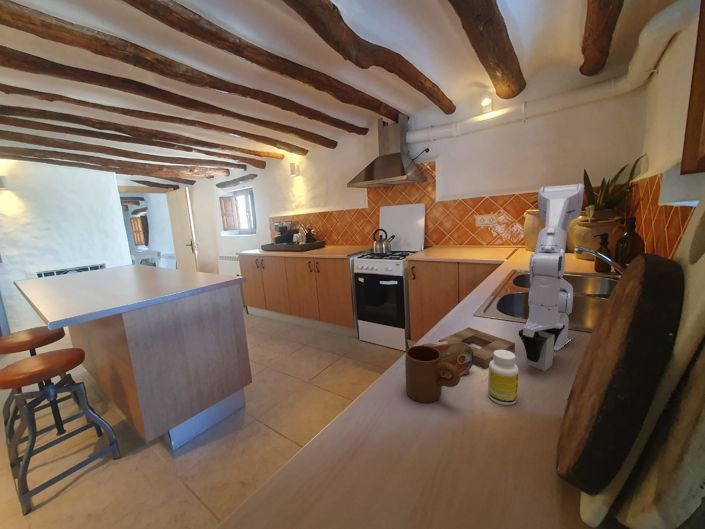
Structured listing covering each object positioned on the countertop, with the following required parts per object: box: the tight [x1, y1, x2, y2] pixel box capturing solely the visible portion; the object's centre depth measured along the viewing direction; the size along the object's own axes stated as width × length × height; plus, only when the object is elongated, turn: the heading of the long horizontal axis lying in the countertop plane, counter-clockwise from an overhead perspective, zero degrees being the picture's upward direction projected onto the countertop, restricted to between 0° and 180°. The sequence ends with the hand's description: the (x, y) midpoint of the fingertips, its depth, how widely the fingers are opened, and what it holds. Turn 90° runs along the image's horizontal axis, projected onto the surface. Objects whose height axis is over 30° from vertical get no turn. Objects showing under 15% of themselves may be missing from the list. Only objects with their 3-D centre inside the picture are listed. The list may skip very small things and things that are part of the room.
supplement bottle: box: [487, 350, 520, 406], centre depth 59 cm, size 5×5×10 cm
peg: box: [526, 331, 555, 372], centre depth 71 cm, size 4×4×8 cm
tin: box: [422, 340, 474, 379], centre depth 68 cm, size 15×3×8 cm, turn 99°
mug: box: [404, 344, 461, 404], centre depth 61 cm, size 12×8×9 cm, turn 43°
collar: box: [438, 327, 516, 370], centre depth 80 cm, size 14×14×2 cm
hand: (540, 355), depth 71 cm, fingers open, 7 cm apart
